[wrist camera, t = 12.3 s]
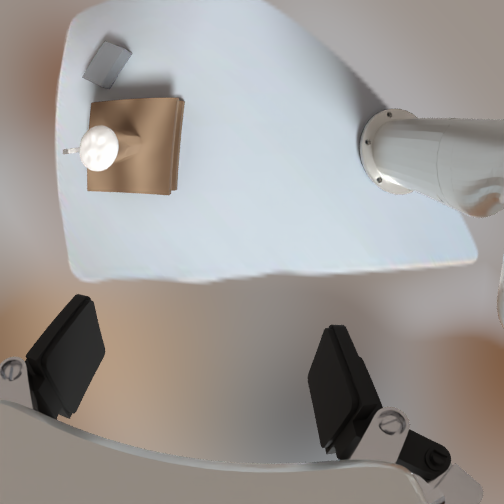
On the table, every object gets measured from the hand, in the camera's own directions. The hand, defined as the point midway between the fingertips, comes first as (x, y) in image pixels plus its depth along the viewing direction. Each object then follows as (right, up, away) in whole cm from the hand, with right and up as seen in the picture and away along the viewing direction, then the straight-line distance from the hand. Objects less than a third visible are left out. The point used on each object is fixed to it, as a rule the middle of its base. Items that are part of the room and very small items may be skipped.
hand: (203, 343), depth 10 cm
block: (-18, +30, +18) cm, 39 cm away
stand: (-13, +18, +23) cm, 32 cm away
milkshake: (-13, +17, +19) cm, 29 cm away
